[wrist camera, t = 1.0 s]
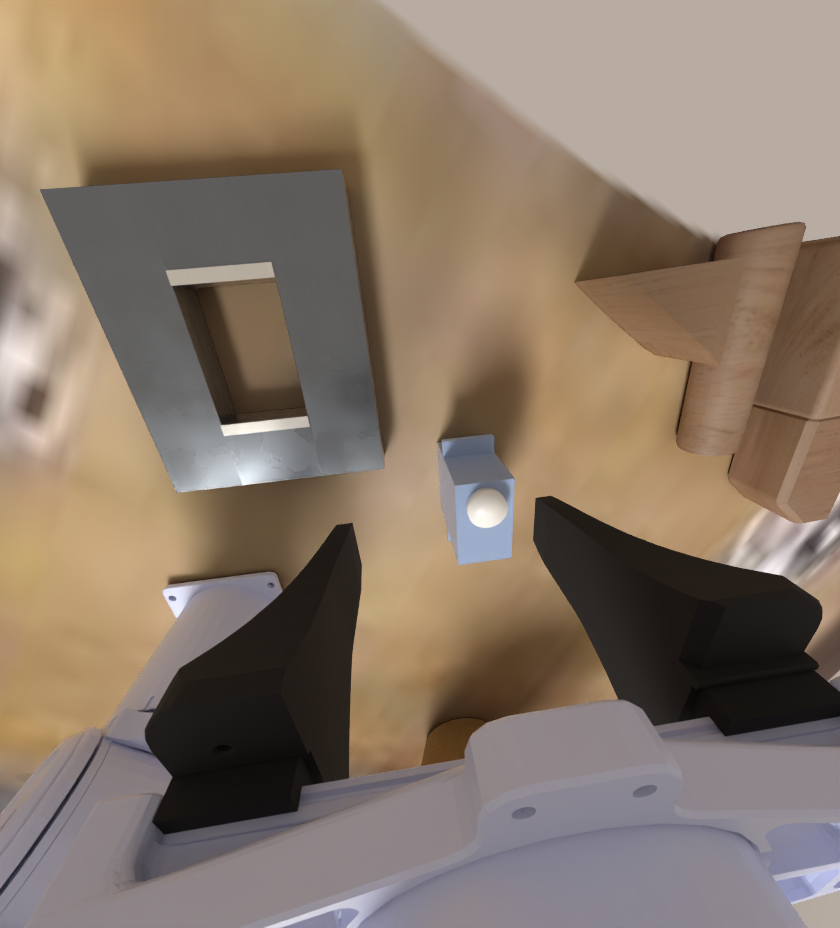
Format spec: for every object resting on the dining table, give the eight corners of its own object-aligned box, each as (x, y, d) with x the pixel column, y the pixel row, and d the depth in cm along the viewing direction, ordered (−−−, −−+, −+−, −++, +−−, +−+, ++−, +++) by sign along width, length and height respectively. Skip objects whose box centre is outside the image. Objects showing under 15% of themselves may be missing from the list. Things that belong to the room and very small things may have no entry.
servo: (482, 513, 24) (514, 579, 19) (442, 518, 24) (461, 586, 18) (482, 422, 22) (520, 465, 16) (436, 427, 21) (456, 472, 15)
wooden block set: (1039, 181, 14) (854, 531, 22) (861, 215, 19) (764, 488, 27) (644, 241, 13) (601, 578, 21) (572, 259, 18) (558, 525, 26)
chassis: (384, 455, 22) (384, 469, 20) (194, 477, 21) (176, 493, 19) (346, 185, 16) (341, 167, 14) (81, 204, 15) (37, 189, 13)
